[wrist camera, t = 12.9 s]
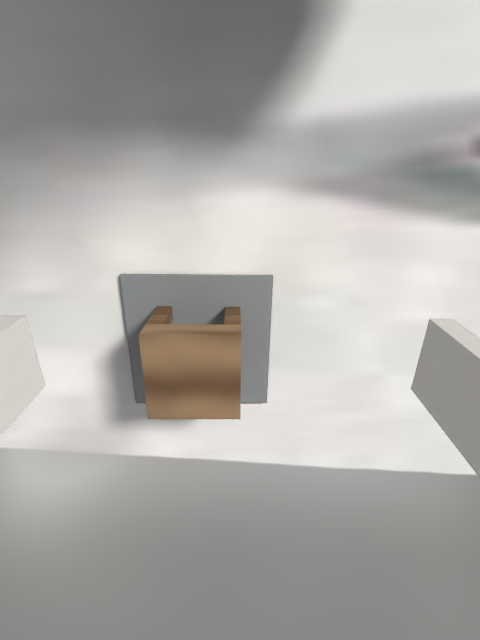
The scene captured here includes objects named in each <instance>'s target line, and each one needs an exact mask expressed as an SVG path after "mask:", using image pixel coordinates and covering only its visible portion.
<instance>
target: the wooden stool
mask: <svg viewBox="0 0 480 640" xmlns="http://www.w3.org/2000/svg"><path fill="white" fill-rule="evenodd" d="M172 321H173V316H172V306H157V307H156V309H155V310H154V312H153V313H152V315H151V316H150V318H149V320H148V321H147V323H146V324H145V326H144V327H143V329H142V331H141V332H140V334H139V344H140V353H141V361H142V370H143V379H144V388H145V397H146V406H147V415H148V419H240V397H241V314H240V307H225V319H224V325H214V324H171V323H172Z"/></svg>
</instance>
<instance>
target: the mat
mask: <svg viewBox="0 0 480 640" xmlns="http://www.w3.org/2000/svg"><path fill="white" fill-rule="evenodd" d="M120 281H121V289H122V297H123V305H124V313H125V321H126V329H127V336H128V344H129V352H130V360H131V368H132V376H133V384H134V392H135V400H136V403H146V397H145V388H144V379H143V370H142V361H141V353H140V344H139V334H140V332H141V331H142V329H143V327H144V326H145V324H146V323H147V321H148V320H149V318H150V316H151V315H152V313H153V312H154V310H155V309H156V307H157V306H172V316H173V321H172V323H171V324H214V325H224V319H225V307H240V314H241V397H240V403H267V386H268V366H269V346H270V327H271V307H272V287H273V275H194V274H120Z"/></svg>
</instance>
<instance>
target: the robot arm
mask: <svg viewBox="0 0 480 640" xmlns="http://www.w3.org/2000/svg"><path fill="white" fill-rule="evenodd" d="M44 387H45V382H44V379H43V375H42V371H41V368H40V364H39V361H38V357H37V353H36V350H35V346H34V343H33V339H32V335H31V332H30V328H29V325H28V321H27V317H26V315H2V316H0V436H1V435H2V434H3V433H4V432H5V430H6V429H7V428H8V427H9V426H10V425H11V424H12V423H13V422H14V420H15V419H16V418H17V417H18V416H19V415H20V414H21V413H22V412H23V410H24V409H25V408H26V407H27V406H28V405H29V404H30V403H31V401H32V400H33V399H34V398H35V397H36V396H37V395H38V394H39V393H40V391H41V390H42V389H43V388H44ZM411 389H412V391H413V392H414V393H415V395H416V396H417V397H418V398H419V400H420V401H421V402H422V404H423V405H424V406H425V408H426V409H427V410H428V411H429V413H430V414H431V415H432V417H433V418H434V419H435V420H436V422H437V423H438V424H439V426H440V427H441V428H442V430H443V431H444V432H445V433H446V435H447V436H448V437H449V439H450V440H451V441H452V442H453V444H454V445H455V446H456V448H457V449H458V450H459V452H460V453H461V454H462V455H463V457H464V458H465V459H466V461H467V462H468V463H469V464H470V466H471V467H472V468H473V470H474V471H475V472H476V474H477V475H478V476H479V477H480V338H479V337H478V336H476V335H475V334H473V333H472V332H471V331H469V330H468V329H466V328H465V327H464V326H462V325H461V324H459V323H458V322H457V321H455V320H454V319H429V323H428V326H427V330H426V334H425V338H424V341H423V345H422V349H421V353H420V357H419V360H418V364H417V368H416V372H415V375H414V379H413V383H412V387H411Z"/></svg>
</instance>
